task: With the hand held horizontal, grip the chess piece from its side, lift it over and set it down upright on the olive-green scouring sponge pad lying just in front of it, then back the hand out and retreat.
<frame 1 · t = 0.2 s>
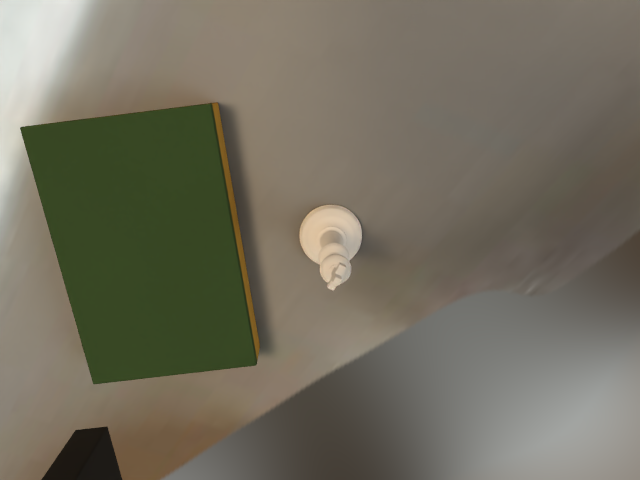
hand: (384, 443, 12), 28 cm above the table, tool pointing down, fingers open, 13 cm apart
chess piece: (330, 234, 40), on the table
sponge pad: (158, 243, 40), on the table
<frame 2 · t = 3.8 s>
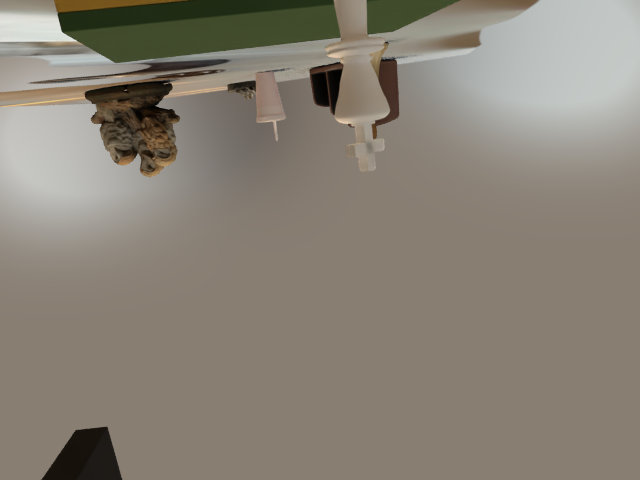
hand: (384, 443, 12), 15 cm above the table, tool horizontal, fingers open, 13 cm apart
letter holder: (353, 62, 113), on the table
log: (245, 82, 132), on the table
owl figurine: (129, 85, 94), on the table
smoothie: (264, 71, 104), on the table
hand bell: (361, 45, 77), on the table
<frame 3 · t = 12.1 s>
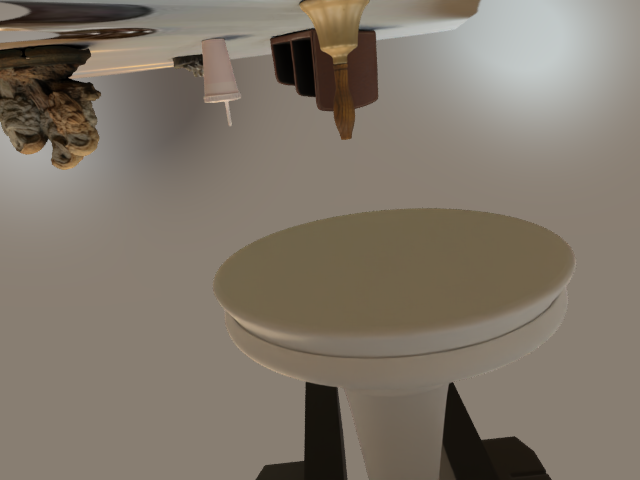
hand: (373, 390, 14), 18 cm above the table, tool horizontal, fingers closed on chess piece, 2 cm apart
letter holder: (324, 32, 94), on the table
chess piece: (383, 237, 7), point 12 cm above the table, touching gripper
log: (194, 56, 111), on the table
owl figurine: (32, 50, 72), on the table
smoothie: (212, 39, 83), on the table
when the fingers open (9 cm above the table, at t = 15.6 s): chess piece stays where it is, resting on sponge pad.
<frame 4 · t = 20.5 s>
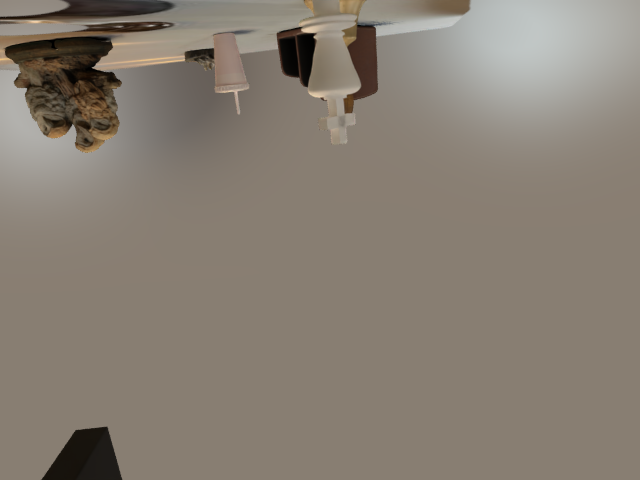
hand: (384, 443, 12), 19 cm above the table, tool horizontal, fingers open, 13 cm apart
letter holder: (327, 27, 100), on the table
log: (204, 50, 118), on the table
owl figurine: (59, 42, 79), on the table
smoothie: (223, 33, 90), on the table
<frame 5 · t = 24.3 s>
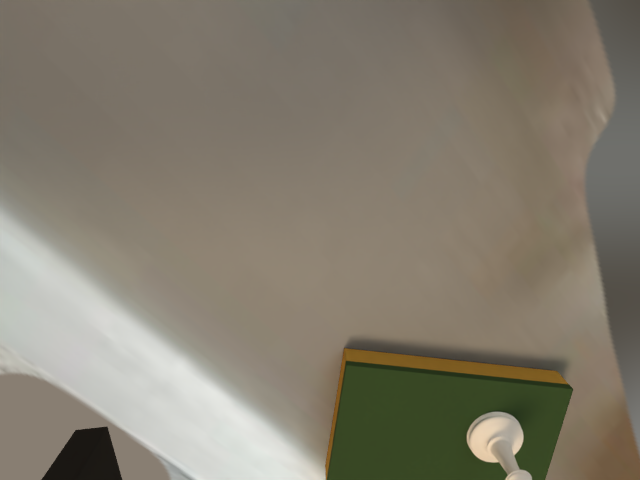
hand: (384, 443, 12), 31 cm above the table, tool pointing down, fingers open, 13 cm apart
chess piece: (493, 433, 45), point 3 cm above the table, touching sponge pad
sponge pad: (438, 419, 48), on the table
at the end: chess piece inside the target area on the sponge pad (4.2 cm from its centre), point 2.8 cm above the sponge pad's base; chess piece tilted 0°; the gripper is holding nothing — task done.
